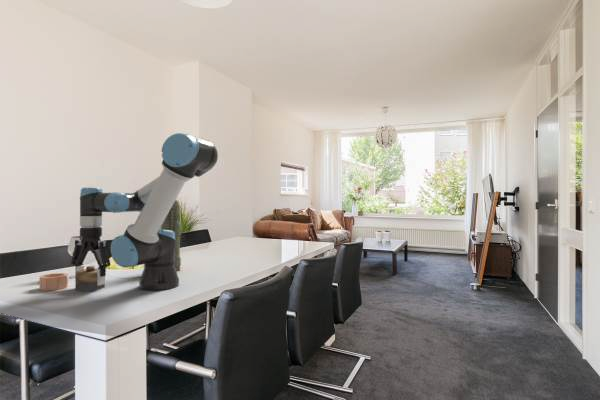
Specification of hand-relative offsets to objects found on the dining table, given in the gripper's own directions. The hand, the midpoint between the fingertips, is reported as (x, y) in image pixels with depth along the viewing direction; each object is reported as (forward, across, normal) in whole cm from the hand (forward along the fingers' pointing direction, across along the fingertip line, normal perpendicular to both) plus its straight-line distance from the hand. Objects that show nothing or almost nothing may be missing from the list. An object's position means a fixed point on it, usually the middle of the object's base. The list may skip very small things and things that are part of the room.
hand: (90, 283), depth 140 cm
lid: (-1, 0, 0) cm, 1 cm away
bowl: (+2, +14, +4) cm, 15 cm away
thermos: (+2, -6, -41) cm, 41 cm away
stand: (+2, 0, 0) cm, 2 cm away
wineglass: (+2, +24, -15) cm, 28 cm away
